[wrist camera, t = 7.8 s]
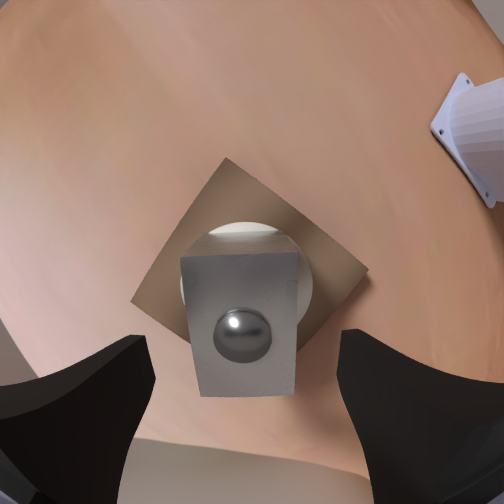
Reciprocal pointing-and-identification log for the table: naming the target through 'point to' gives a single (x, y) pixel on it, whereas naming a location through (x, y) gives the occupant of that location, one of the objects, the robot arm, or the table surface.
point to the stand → (242, 220)
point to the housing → (242, 312)
